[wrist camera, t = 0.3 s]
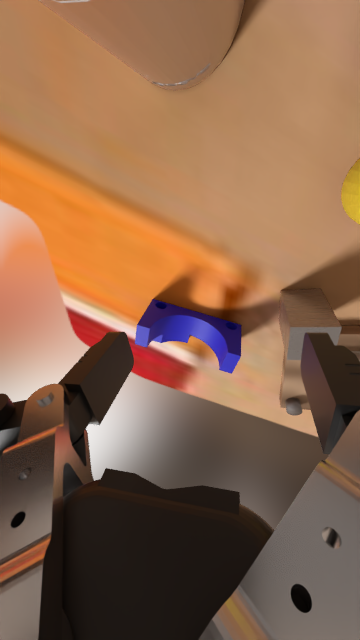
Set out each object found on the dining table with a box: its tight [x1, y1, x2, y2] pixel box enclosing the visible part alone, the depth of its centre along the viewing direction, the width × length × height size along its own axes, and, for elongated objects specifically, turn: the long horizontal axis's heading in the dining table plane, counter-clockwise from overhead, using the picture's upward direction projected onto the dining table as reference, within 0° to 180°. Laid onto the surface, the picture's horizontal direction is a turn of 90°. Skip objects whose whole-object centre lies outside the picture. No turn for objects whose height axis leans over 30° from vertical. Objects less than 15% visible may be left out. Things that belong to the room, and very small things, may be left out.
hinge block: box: [279, 289, 342, 360], centre depth 24 cm, size 4×4×7 cm
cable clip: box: [135, 299, 241, 373], centre depth 30 cm, size 12×4×6 cm, turn 78°
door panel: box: [280, 326, 360, 415], centre depth 29 cm, size 14×16×3 cm
